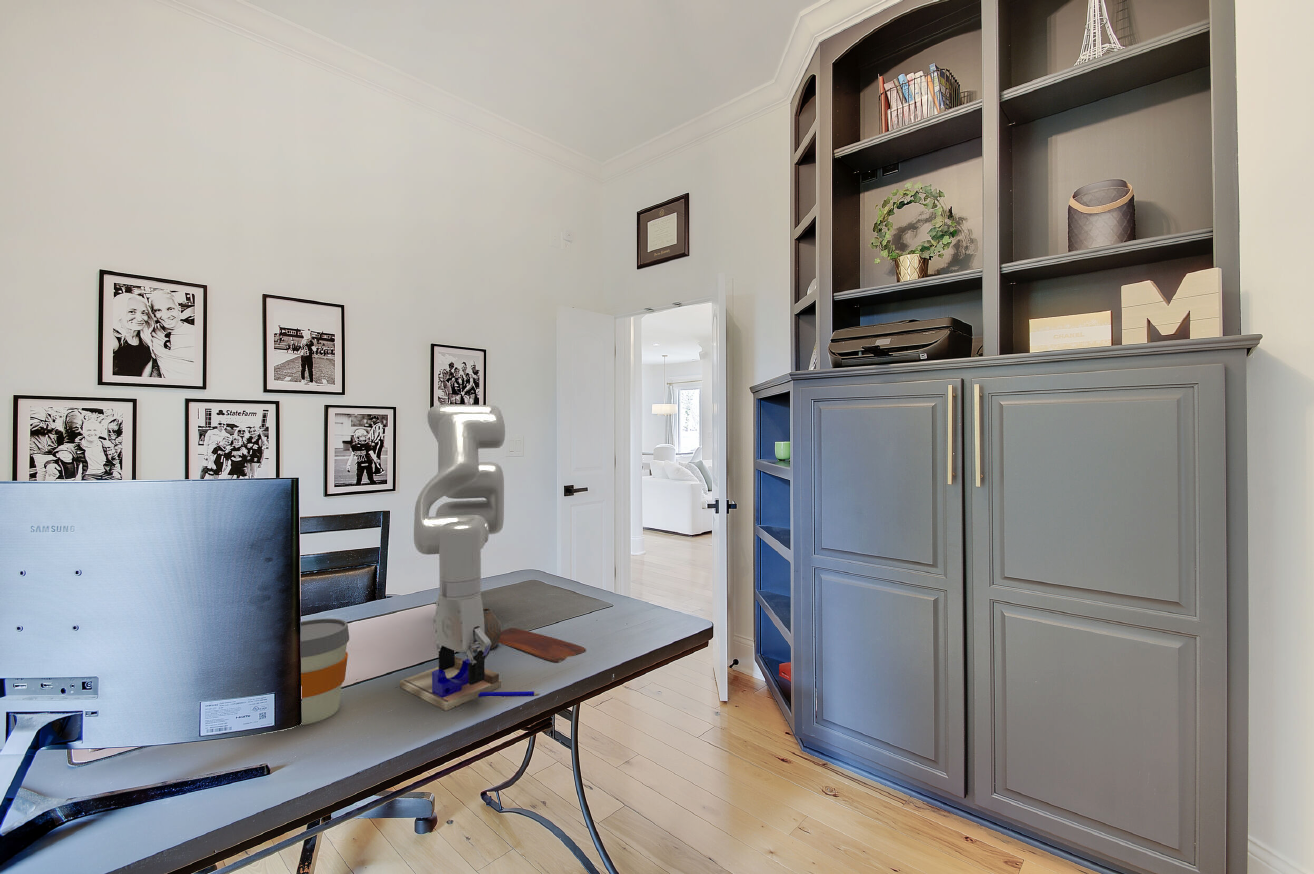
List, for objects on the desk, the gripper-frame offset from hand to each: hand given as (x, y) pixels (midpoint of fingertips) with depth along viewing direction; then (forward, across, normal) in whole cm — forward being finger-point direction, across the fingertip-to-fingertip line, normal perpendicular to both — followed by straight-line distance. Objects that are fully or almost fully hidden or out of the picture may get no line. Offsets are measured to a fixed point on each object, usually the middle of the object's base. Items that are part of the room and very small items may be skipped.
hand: (461, 675), depth 109 cm
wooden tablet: (+5, -9, +26) cm, 27 cm away
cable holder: (+2, 0, -1) cm, 3 cm away
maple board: (+4, -4, 0) cm, 5 cm away
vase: (+4, -16, +17) cm, 24 cm away
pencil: (+4, +6, +3) cm, 8 cm away
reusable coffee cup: (+4, -15, -21) cm, 26 cm away
